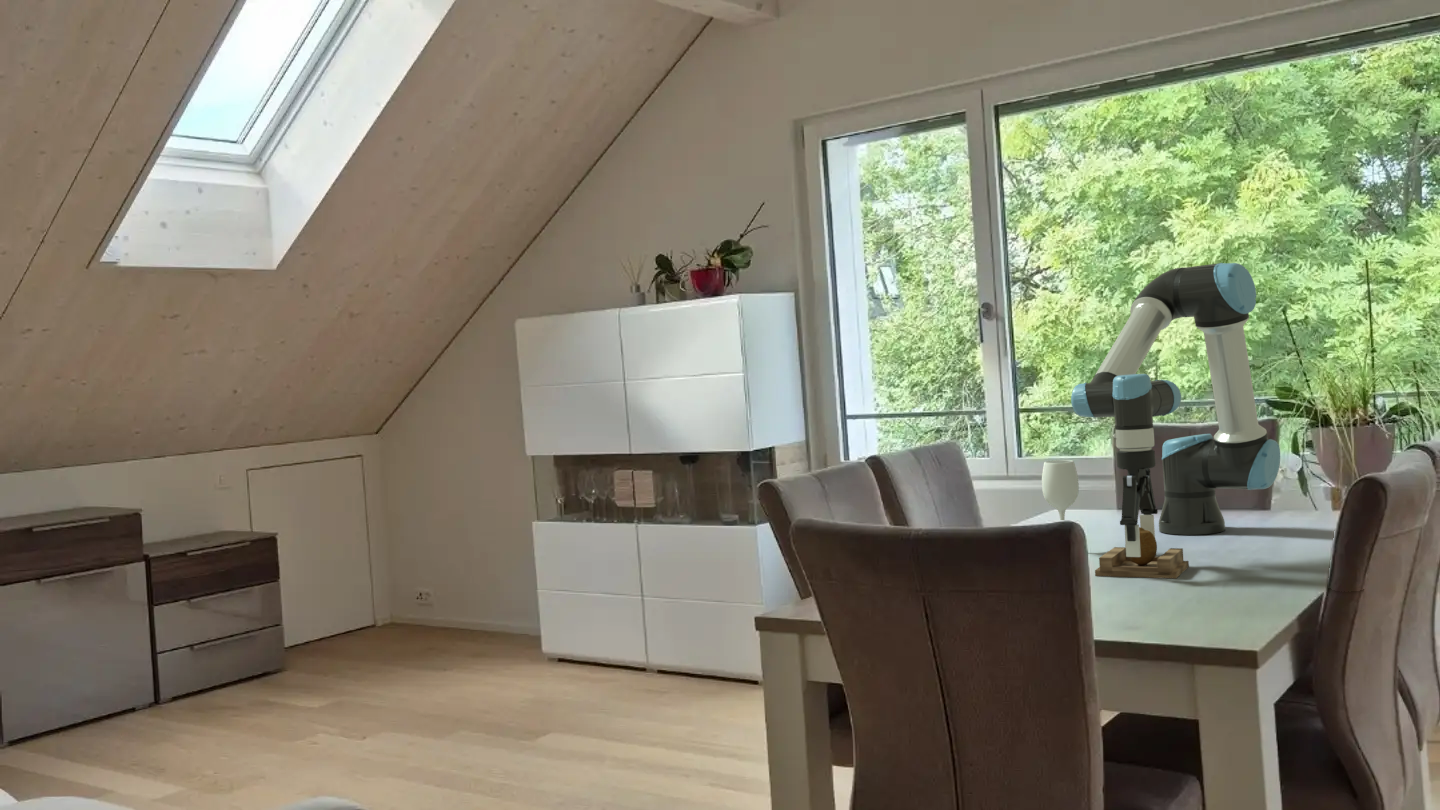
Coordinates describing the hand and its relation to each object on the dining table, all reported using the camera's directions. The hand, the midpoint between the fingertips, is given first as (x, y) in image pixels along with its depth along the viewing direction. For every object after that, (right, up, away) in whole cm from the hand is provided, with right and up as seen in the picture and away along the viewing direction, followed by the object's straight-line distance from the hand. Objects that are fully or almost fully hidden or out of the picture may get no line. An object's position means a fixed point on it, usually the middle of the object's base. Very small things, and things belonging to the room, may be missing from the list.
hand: (1141, 551), depth 259 cm
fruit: (0, -3, 0) cm, 3 cm away
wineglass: (-8, -4, +29) cm, 30 cm away
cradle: (0, -4, 0) cm, 4 cm away
